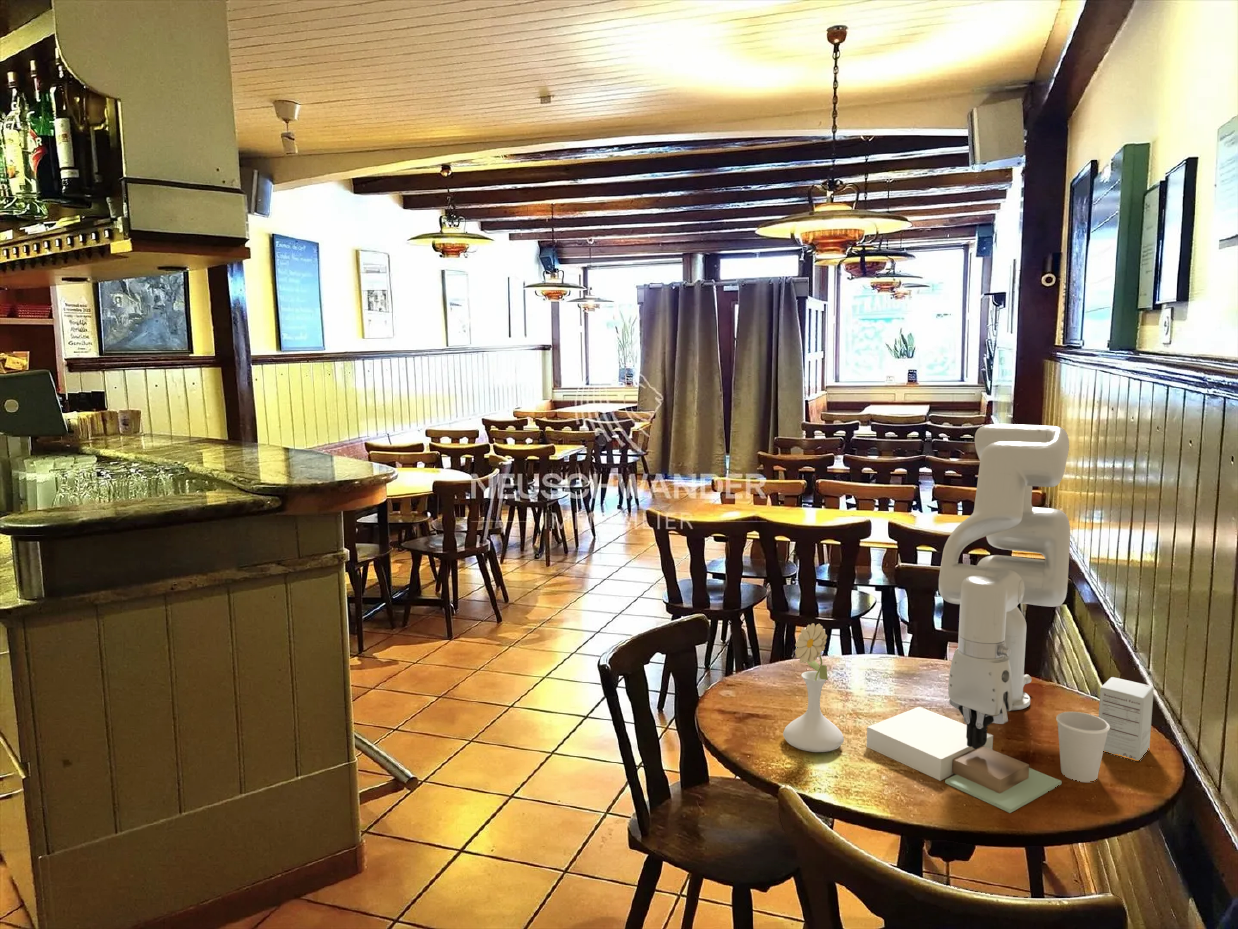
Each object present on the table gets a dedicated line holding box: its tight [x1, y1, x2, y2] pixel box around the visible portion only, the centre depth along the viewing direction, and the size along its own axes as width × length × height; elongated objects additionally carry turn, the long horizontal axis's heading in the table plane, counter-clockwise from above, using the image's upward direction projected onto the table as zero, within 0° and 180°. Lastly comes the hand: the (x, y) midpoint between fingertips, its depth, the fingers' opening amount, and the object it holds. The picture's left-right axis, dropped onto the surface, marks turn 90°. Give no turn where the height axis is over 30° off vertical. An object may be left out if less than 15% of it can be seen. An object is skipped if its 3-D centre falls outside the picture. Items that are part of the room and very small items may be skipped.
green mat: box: [944, 767, 1062, 814], centre depth 148 cm, size 16×12×1 cm
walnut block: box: [952, 746, 1030, 794], centre depth 150 cm, size 9×9×2 cm
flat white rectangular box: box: [866, 706, 994, 782], centre depth 160 cm, size 16×16×4 cm
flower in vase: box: [782, 623, 845, 753], centre depth 161 cm, size 13×11×25 cm
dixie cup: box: [1055, 711, 1110, 783], centre depth 150 cm, size 8×8×10 cm
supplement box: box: [1098, 676, 1155, 761], centre depth 159 cm, size 7×7×13 cm
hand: (976, 745), depth 152 cm, fingers closed
